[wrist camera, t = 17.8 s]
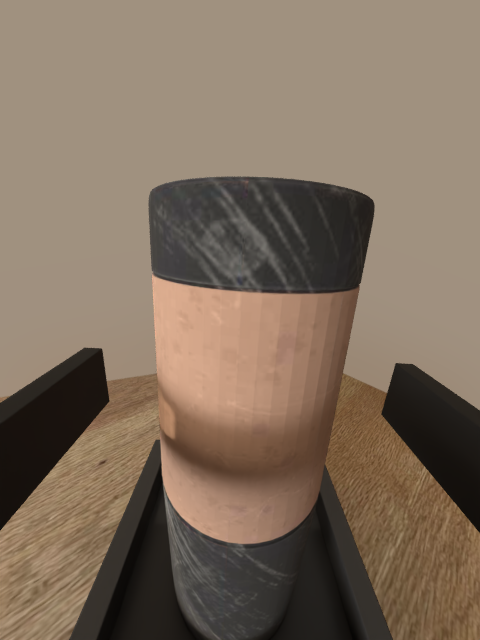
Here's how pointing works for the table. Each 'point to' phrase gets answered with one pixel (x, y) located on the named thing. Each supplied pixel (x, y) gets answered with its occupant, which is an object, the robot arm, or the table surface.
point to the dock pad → (159, 591)
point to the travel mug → (248, 381)
